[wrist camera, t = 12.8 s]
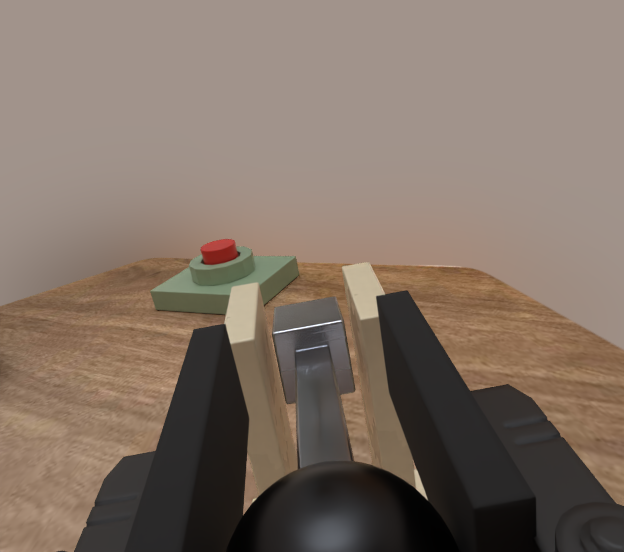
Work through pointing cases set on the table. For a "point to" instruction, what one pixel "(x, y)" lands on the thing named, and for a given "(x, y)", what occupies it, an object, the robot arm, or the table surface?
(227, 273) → the control block
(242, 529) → the lever
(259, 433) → the bracket
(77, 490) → the table surface
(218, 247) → the button
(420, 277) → the table surface
